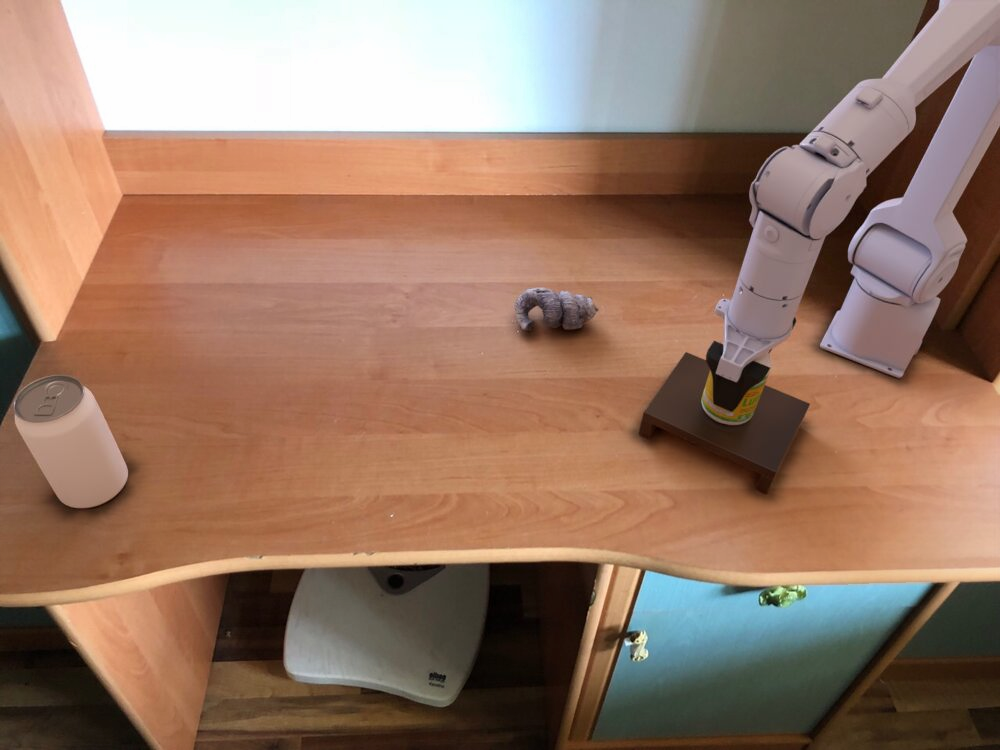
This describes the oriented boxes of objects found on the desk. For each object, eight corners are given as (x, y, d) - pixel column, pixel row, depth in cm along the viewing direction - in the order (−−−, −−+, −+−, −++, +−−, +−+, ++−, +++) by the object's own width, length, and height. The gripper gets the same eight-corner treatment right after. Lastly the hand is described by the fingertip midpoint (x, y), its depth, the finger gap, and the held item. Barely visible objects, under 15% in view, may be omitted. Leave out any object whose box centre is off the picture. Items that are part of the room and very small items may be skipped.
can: (138, 457, 79) (99, 370, 70) (117, 510, 74) (74, 425, 66) (71, 457, 78) (24, 370, 70) (46, 511, 74) (-7, 425, 65)
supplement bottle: (739, 435, 79) (766, 365, 72) (691, 410, 81) (712, 339, 75) (761, 404, 82) (789, 334, 75) (714, 381, 84) (737, 311, 78)
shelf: (800, 425, 85) (810, 403, 83) (766, 494, 78) (776, 472, 76) (679, 374, 90) (685, 351, 88) (638, 434, 83) (643, 411, 81)
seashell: (513, 334, 96) (594, 334, 97) (518, 326, 90) (604, 325, 92) (511, 291, 96) (592, 291, 98) (517, 280, 91) (602, 280, 92)
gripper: (756, 227, 76) (723, 333, 86) (698, 306, 67) (668, 415, 77) (829, 252, 74) (786, 359, 83) (779, 338, 65) (738, 446, 74)
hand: (734, 388), depth 80 cm, fingers closed on supplement bottle, 5 cm apart
